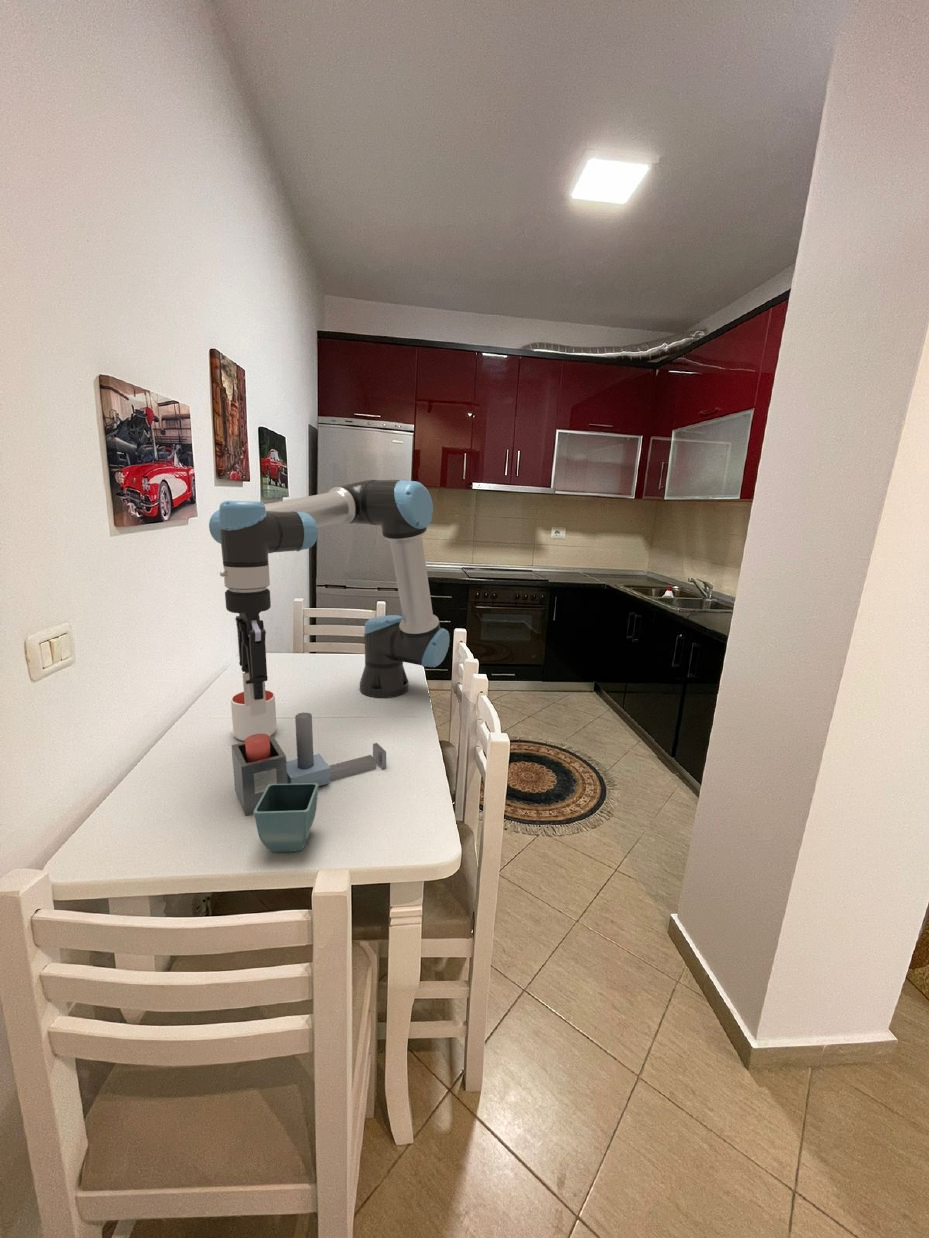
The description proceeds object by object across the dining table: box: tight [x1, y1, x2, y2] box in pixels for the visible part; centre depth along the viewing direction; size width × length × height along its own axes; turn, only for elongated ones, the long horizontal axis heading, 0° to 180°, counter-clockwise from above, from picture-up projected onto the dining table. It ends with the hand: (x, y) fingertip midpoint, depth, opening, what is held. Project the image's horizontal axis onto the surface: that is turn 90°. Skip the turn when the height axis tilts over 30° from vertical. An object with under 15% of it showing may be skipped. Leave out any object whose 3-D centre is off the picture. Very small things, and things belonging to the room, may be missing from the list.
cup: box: [230, 689, 278, 742], centre depth 127 cm, size 10×10×10 cm
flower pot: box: [253, 783, 319, 853], centre depth 88 cm, size 9×9×9 cm
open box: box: [230, 735, 288, 816], centre depth 101 cm, size 8×10×10 cm
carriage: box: [286, 712, 331, 787], centre depth 105 cm, size 8×7×15 cm
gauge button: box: [244, 734, 271, 763], centre depth 100 cm, size 4×4×5 cm
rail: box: [287, 742, 387, 784], centre depth 110 cm, size 22×5×4 cm, turn 123°
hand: (255, 708), depth 98 cm, fingers open, 4 cm apart
